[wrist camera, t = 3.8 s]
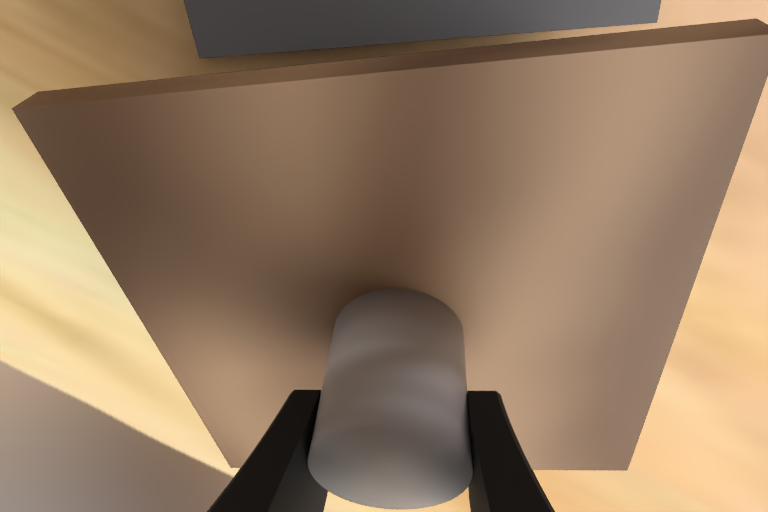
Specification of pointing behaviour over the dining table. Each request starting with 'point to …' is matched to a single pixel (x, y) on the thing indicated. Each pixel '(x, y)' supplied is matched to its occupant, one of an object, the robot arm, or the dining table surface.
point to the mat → (390, 21)
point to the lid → (417, 238)
